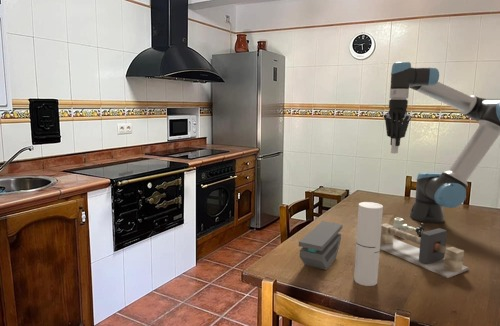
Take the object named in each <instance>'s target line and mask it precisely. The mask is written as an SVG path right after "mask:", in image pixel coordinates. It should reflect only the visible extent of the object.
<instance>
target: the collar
mask: <svg viewBox="0 0 500 326" xmlns="http://www.w3.org/2000/svg"><path fill="white" fill-rule="evenodd" d="M447 236H448V230H446V229H443V228H440V227H438V228H435V229H431V230H427V231H423V233H421V241H420V244H419V248H420V252H419V261H420V262H422V263H425V264H428V263H431V262H434V261H437V260H440V259H443V258H445V254H444V253H441V252H438V251H435V250H434V243H438V244H441V245H443V246H446V247H447V238H448V237H447Z"/></svg>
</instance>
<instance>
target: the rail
mask: <svg viewBox="0 0 500 326" xmlns="http://www.w3.org/2000/svg"><path fill="white" fill-rule="evenodd" d="M394 236H396V237H399V238H401V239H404V240H407V241H409V242H412V243H415V244H417V245H420V241H421V238H420V237H418V236H419V235H416V234H415V235H414V234H411V233H409V232H407V231H404V230H402V231H401V230H398V229H395V228H394V226H393V224H392V225H391V224H389V223H387V222H385V223H382V226H381V239H380V251H384V252H386V253H389V254H391V255H393V256H395V257H397V258H399V259H403V260H405V261H408V262H410V263H411V264H414V265H416V266H419V267H421V268H423V269H426V270H428V271H430V272H433V273H435V274H438V275H439V276H442V277H444V278H447V279H449V278H452V277H453V276H454V277H455V276H456V275H459V274H462V273H465V272H467V271H469V269H470V267H468V266H466V265H464V264H463V263H464V256H465V250H464V249H460V248H458V247H455V246H447V245H446V246H443V245H441V244H438V243H434V250H435V251H438V252H441V253H444V254H445V256H444V258H443V259H440V260H437V261H434V262H431V263H428V264H425V263H422V262H420V261H419V252H420V247H417V246H414V245H412V244H409V243H407V242H404V241H402V240H399V239H396V238H394Z"/></svg>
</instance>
